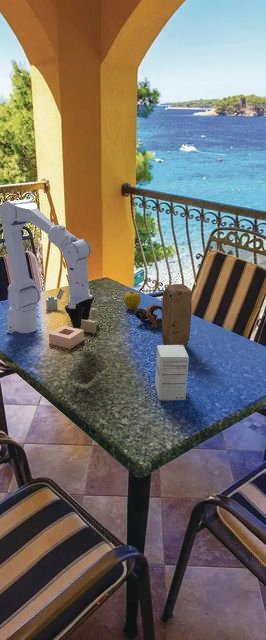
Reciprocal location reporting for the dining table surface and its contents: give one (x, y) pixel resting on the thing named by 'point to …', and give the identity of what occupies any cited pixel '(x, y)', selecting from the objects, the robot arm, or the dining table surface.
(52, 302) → the lighter
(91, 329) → the base board
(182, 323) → the block
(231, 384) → the dining table surface
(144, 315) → the dark brown irregular piece
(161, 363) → the supplement box
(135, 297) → the apple
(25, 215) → the robot arm
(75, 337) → the sliding block
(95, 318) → the dowel
